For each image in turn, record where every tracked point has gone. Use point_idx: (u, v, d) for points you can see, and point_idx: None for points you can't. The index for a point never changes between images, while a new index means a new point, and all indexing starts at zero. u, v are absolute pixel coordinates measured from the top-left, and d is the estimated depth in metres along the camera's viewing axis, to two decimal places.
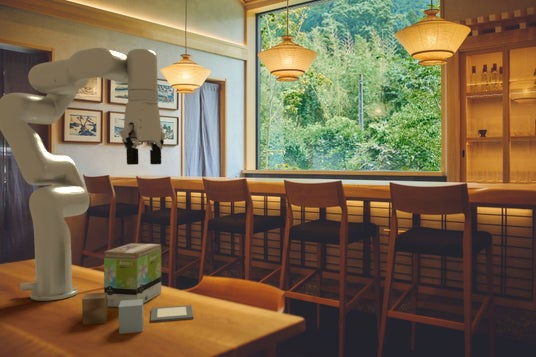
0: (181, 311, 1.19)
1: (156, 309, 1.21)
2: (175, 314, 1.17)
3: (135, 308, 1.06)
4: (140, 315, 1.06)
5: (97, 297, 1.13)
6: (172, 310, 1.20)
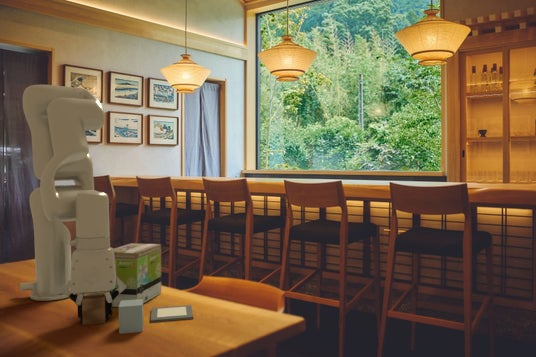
0: (181, 311, 1.19)
1: (156, 309, 1.21)
2: (175, 314, 1.17)
3: (135, 308, 1.06)
4: (140, 315, 1.06)
5: (97, 297, 1.13)
6: (172, 310, 1.20)
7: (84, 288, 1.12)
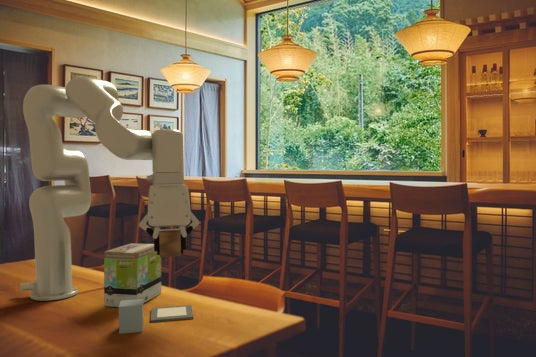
0: (181, 311, 1.19)
1: (156, 309, 1.21)
2: (175, 314, 1.17)
3: (135, 308, 1.06)
4: (140, 315, 1.06)
5: (173, 231, 1.17)
6: (172, 310, 1.20)
7: (161, 221, 1.15)
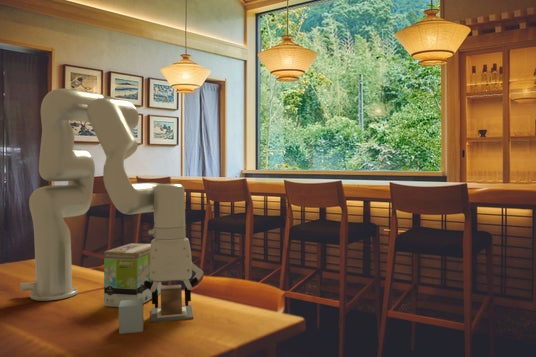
0: None
1: (156, 309, 1.21)
2: None
3: (135, 308, 1.06)
4: (140, 315, 1.06)
5: (174, 289, 1.17)
6: None
7: (163, 276, 1.15)
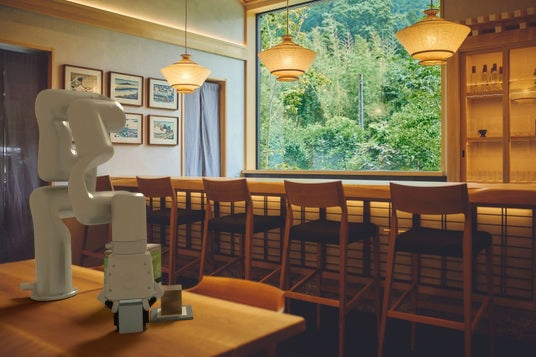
0: None
1: (156, 309, 1.21)
2: None
3: (135, 308, 1.06)
4: (140, 315, 1.06)
5: (174, 289, 1.17)
6: None
7: (121, 294, 1.05)
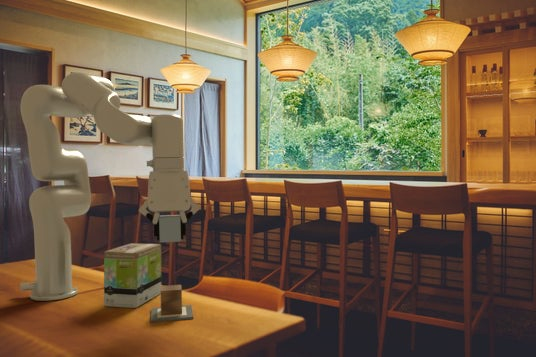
0: None
1: (156, 309, 1.21)
2: None
3: (174, 220, 1.16)
4: (178, 226, 1.16)
5: (174, 289, 1.17)
6: None
7: (161, 206, 1.15)
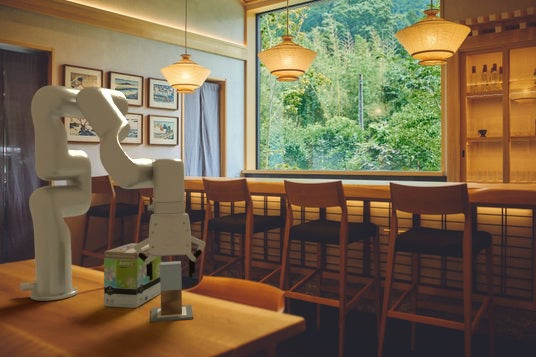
0: None
1: (156, 309, 1.21)
2: None
3: (175, 268, 1.16)
4: (179, 274, 1.16)
5: None
6: None
7: (162, 250, 1.15)
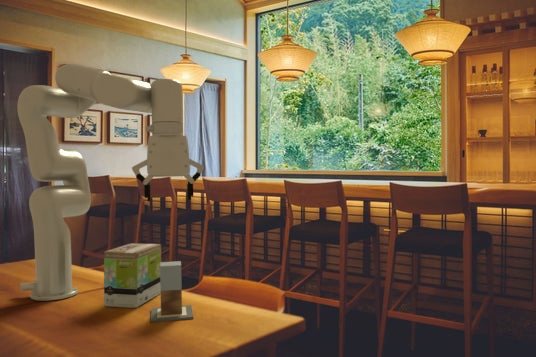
0: None
1: (156, 309, 1.21)
2: None
3: (175, 268, 1.16)
4: (179, 274, 1.16)
5: None
6: None
7: (160, 171, 1.15)
